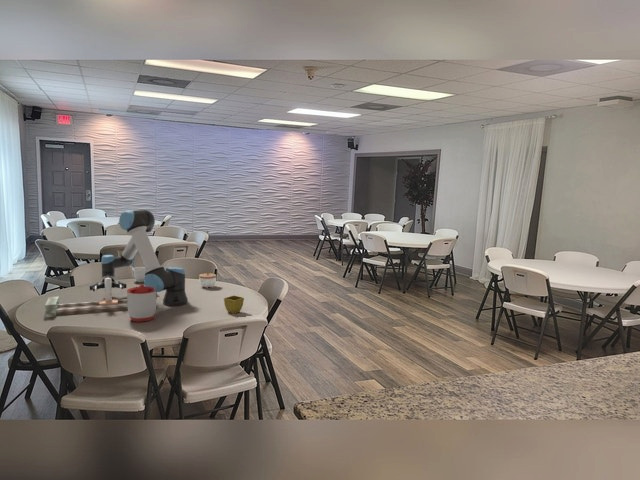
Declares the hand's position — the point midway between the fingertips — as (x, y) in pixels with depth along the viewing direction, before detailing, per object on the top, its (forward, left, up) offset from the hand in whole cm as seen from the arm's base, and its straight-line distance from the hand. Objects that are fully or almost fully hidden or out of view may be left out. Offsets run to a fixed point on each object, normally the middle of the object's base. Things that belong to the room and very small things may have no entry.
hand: (108, 290), depth 255 cm
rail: (+8, +4, -12) cm, 15 cm away
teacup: (+40, -64, -12) cm, 76 cm away
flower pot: (-65, -35, -12) cm, 75 cm away
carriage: (+3, -2, -10) cm, 11 cm away
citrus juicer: (-30, +2, -12) cm, 33 cm away
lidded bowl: (-12, -77, -12) cm, 79 cm away
